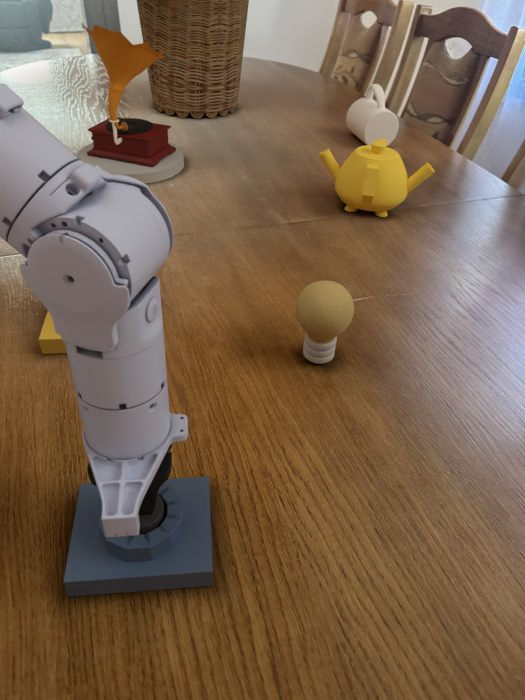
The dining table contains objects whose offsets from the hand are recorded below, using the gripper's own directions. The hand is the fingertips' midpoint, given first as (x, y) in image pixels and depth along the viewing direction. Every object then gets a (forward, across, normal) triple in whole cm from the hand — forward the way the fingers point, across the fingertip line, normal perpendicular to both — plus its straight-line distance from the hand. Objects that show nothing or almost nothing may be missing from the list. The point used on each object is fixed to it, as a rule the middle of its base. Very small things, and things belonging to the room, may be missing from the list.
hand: (140, 507), depth 44 cm
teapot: (+5, +65, -36) cm, 74 cm away
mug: (+5, +99, -45) cm, 109 cm away
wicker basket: (+5, +124, -6) cm, 124 cm away
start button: (+2, 0, 0) cm, 2 cm away
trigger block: (+4, +30, +7) cm, 31 cm away
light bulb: (+5, +23, -19) cm, 30 cm away
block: (+4, 0, 0) cm, 4 cm away
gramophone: (+5, +84, +7) cm, 84 cm away
